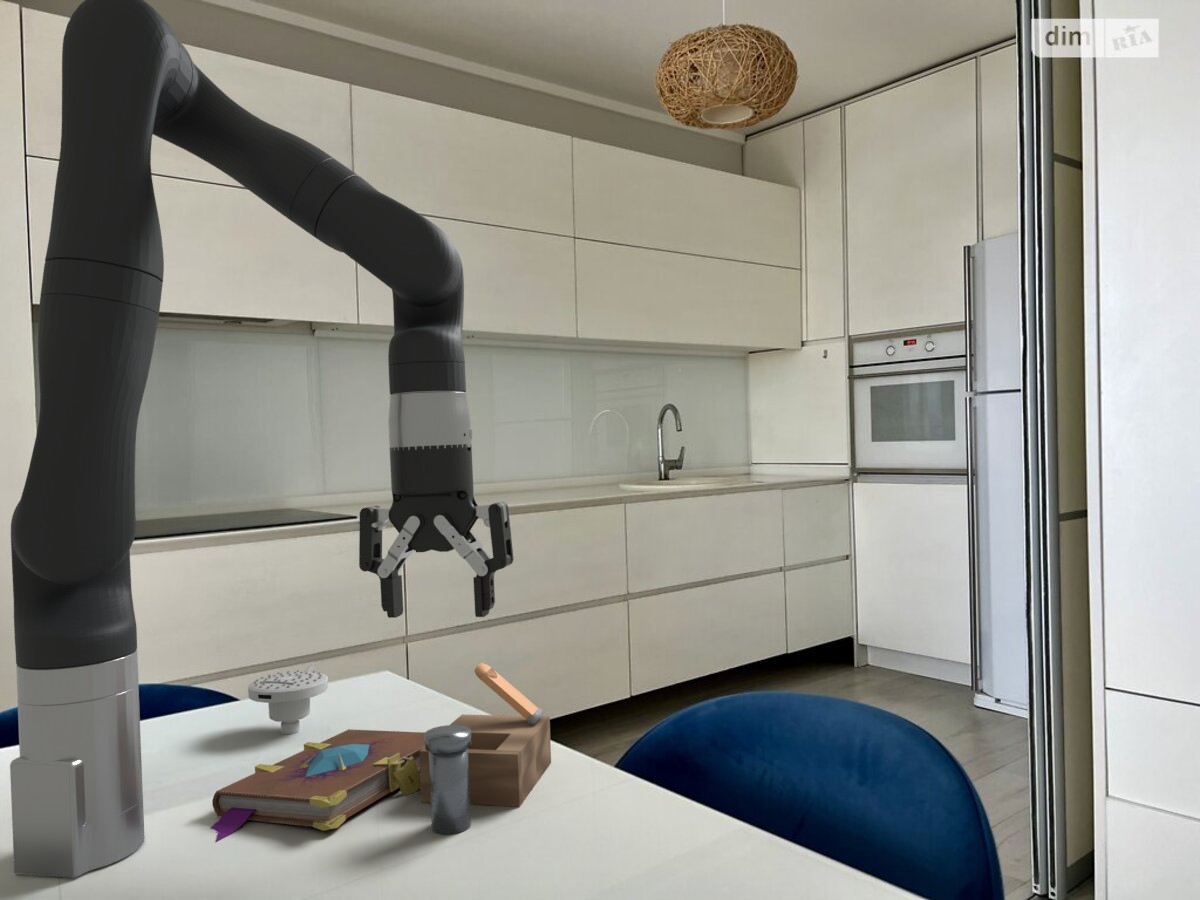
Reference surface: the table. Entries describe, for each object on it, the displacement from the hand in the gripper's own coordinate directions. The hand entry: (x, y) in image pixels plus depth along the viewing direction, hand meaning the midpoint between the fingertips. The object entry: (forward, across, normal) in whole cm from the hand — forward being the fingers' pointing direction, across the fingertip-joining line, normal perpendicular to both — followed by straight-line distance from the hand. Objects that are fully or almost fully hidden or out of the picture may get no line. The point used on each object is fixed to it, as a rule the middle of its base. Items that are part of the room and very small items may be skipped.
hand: (438, 615), depth 84 cm
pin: (+19, +1, -2) cm, 19 cm away
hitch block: (+19, +1, +9) cm, 21 cm away
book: (+19, -14, +4) cm, 24 cm away
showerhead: (+19, -29, +24) cm, 42 cm away
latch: (+11, +2, +13) cm, 17 cm away
